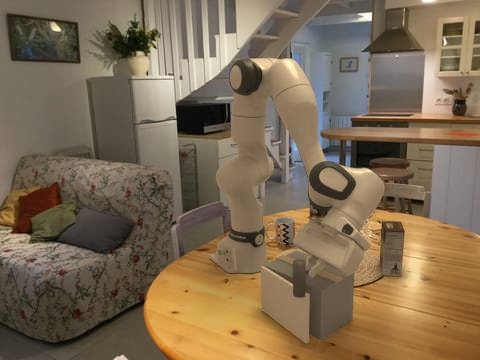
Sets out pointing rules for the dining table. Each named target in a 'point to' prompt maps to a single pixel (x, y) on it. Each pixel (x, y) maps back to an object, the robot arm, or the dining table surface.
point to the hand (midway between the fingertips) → (307, 274)
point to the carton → (321, 294)
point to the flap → (287, 299)
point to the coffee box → (391, 248)
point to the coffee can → (316, 213)
